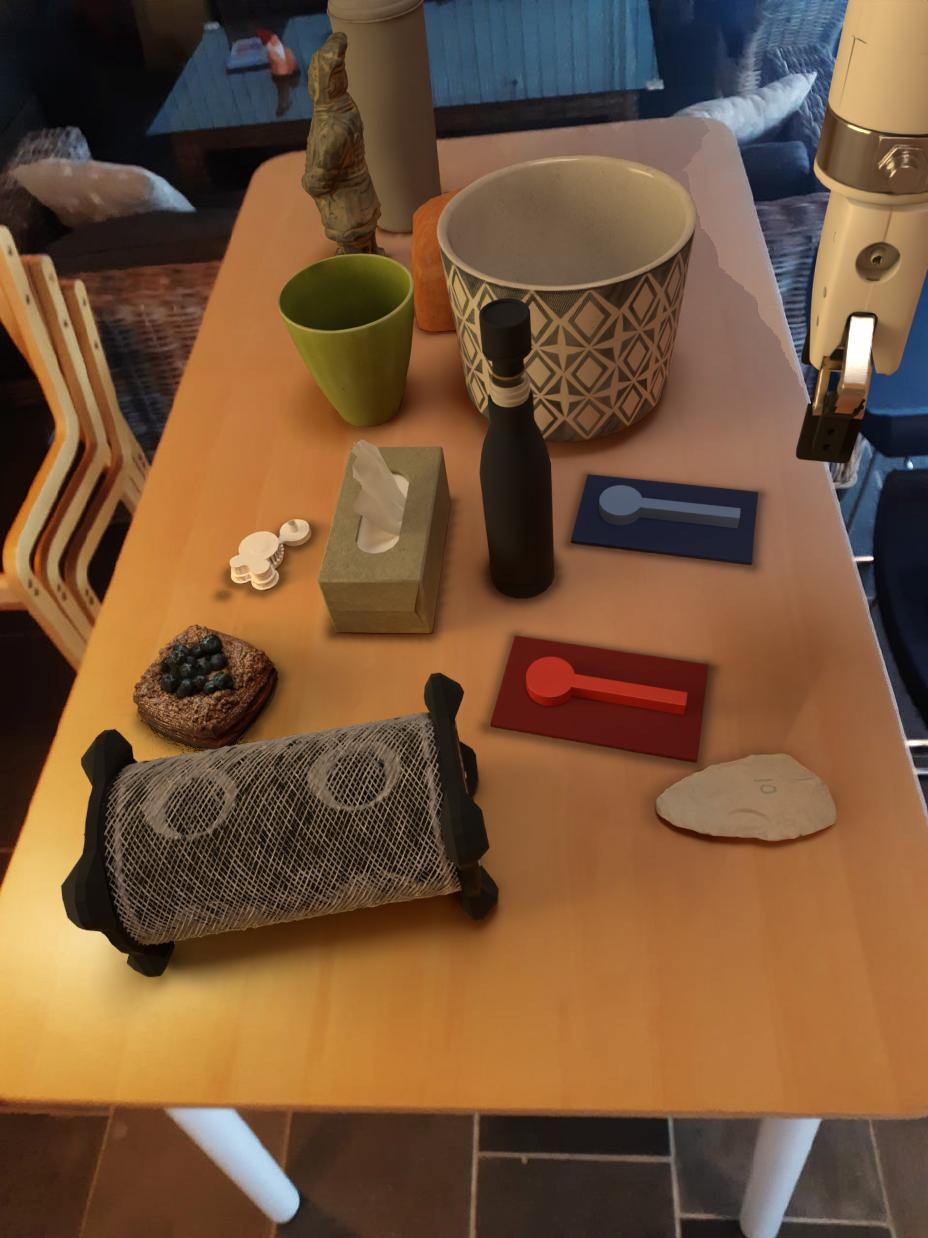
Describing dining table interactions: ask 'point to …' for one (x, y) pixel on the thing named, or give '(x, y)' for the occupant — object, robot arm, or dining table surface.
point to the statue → (339, 156)
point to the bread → (430, 267)
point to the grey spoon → (661, 509)
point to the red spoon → (595, 688)
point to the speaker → (278, 830)
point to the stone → (750, 799)
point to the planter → (574, 283)
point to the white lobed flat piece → (266, 554)
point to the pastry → (206, 688)
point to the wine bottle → (514, 459)
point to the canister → (392, 101)
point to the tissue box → (387, 540)
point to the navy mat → (669, 522)
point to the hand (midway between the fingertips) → (823, 408)
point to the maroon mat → (605, 718)
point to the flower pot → (353, 331)
